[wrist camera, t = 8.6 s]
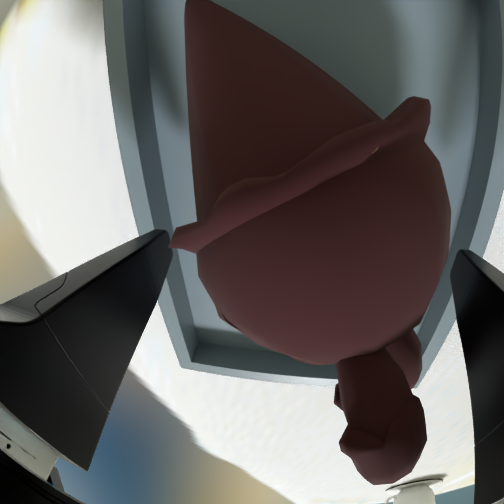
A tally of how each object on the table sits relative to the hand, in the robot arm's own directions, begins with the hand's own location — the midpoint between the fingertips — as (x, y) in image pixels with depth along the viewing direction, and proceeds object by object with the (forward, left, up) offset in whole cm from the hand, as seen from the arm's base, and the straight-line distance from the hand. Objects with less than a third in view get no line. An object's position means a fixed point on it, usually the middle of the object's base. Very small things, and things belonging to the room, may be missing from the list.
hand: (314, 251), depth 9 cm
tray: (0, 0, -4) cm, 4 cm away
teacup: (-22, +47, -4) cm, 52 cm away
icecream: (0, 0, -2) cm, 2 cm away
